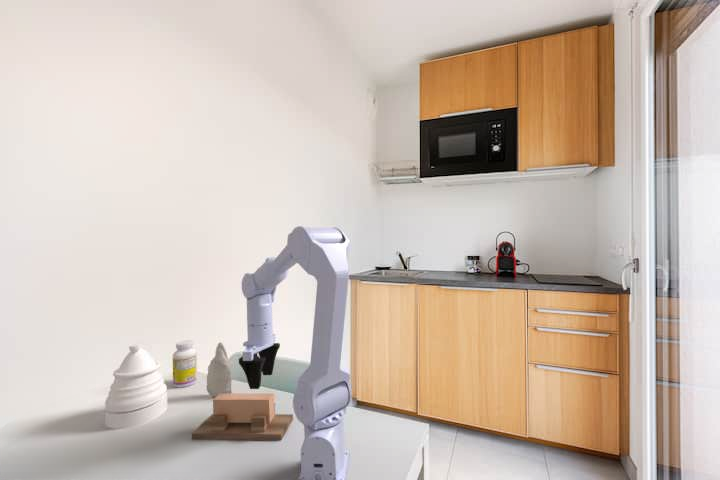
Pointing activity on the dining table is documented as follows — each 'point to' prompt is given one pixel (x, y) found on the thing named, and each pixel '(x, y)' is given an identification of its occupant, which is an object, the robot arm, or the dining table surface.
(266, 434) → the wooden block stand
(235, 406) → the clay bar
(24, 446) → the dining table surface
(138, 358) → the honey pot
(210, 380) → the stone tool
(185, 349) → the supplement bottle
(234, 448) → the dining table surface
